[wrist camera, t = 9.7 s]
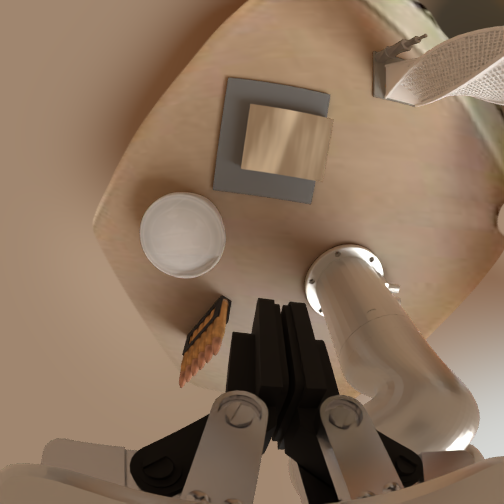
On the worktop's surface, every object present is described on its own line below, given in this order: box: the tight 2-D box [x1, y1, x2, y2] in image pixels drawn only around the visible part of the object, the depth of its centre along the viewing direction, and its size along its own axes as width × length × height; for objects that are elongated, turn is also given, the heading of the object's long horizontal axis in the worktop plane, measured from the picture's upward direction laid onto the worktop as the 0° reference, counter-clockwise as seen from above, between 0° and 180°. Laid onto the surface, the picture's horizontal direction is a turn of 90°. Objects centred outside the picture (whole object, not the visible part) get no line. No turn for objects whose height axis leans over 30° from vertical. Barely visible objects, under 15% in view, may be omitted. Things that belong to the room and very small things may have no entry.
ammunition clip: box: [179, 296, 231, 388], centre depth 40 cm, size 11×2×12 cm, turn 143°
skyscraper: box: [373, 26, 504, 107], centre depth 17 cm, size 8×8×28 cm
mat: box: [213, 78, 330, 204], centre depth 34 cm, size 13×15×1 cm
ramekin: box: [140, 192, 226, 278], centre depth 37 cm, size 11×11×5 cm
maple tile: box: [241, 104, 334, 182], centre depth 33 cm, size 2×8×10 cm
